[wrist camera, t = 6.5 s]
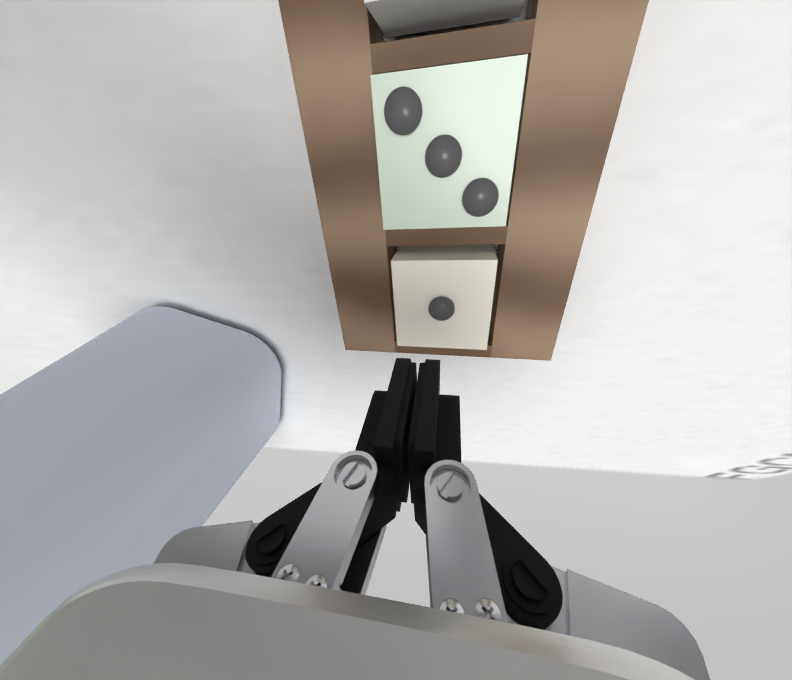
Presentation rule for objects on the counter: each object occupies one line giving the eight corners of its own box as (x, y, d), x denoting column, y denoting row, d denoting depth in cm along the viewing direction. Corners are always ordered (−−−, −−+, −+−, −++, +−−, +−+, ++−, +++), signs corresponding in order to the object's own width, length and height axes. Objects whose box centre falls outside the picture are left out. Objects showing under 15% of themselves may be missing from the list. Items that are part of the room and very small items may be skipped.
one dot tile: (401, 242, 20) (390, 261, 17) (491, 241, 19) (498, 261, 16) (406, 318, 24) (396, 347, 20) (482, 320, 22) (486, 351, 19)
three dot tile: (390, 91, 15) (369, 74, 12) (511, 76, 14) (529, 52, 10) (397, 215, 18) (382, 230, 15) (496, 211, 17) (506, 227, 14)
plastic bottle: (283, 434, 36) (-30, 939, 13) (168, 396, 36) (-345, 830, 13) (288, 338, 27) (-618, 1330, 4) (137, 289, 28) (-1508, 998, 5)
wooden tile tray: (273, -187, 12) (225, -275, 10) (698, -328, 9) (785, -502, 7) (356, 330, 25) (345, 349, 23) (540, 337, 23) (550, 360, 20)
